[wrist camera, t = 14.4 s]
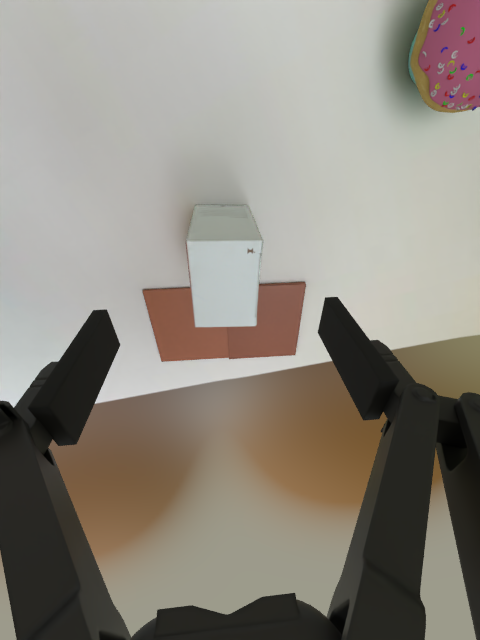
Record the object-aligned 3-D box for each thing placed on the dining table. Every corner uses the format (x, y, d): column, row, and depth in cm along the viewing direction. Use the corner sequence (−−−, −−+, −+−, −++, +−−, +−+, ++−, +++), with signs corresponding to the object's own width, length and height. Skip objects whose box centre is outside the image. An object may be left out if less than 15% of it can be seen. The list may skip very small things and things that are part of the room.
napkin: (162, 360, 39) (161, 363, 38) (142, 289, 31) (141, 292, 31) (294, 352, 39) (295, 355, 39) (304, 281, 32) (306, 284, 32)
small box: (194, 203, 26) (183, 237, 18) (249, 204, 27) (264, 237, 18) (199, 275, 31) (193, 329, 22) (246, 275, 31) (257, 328, 23)
